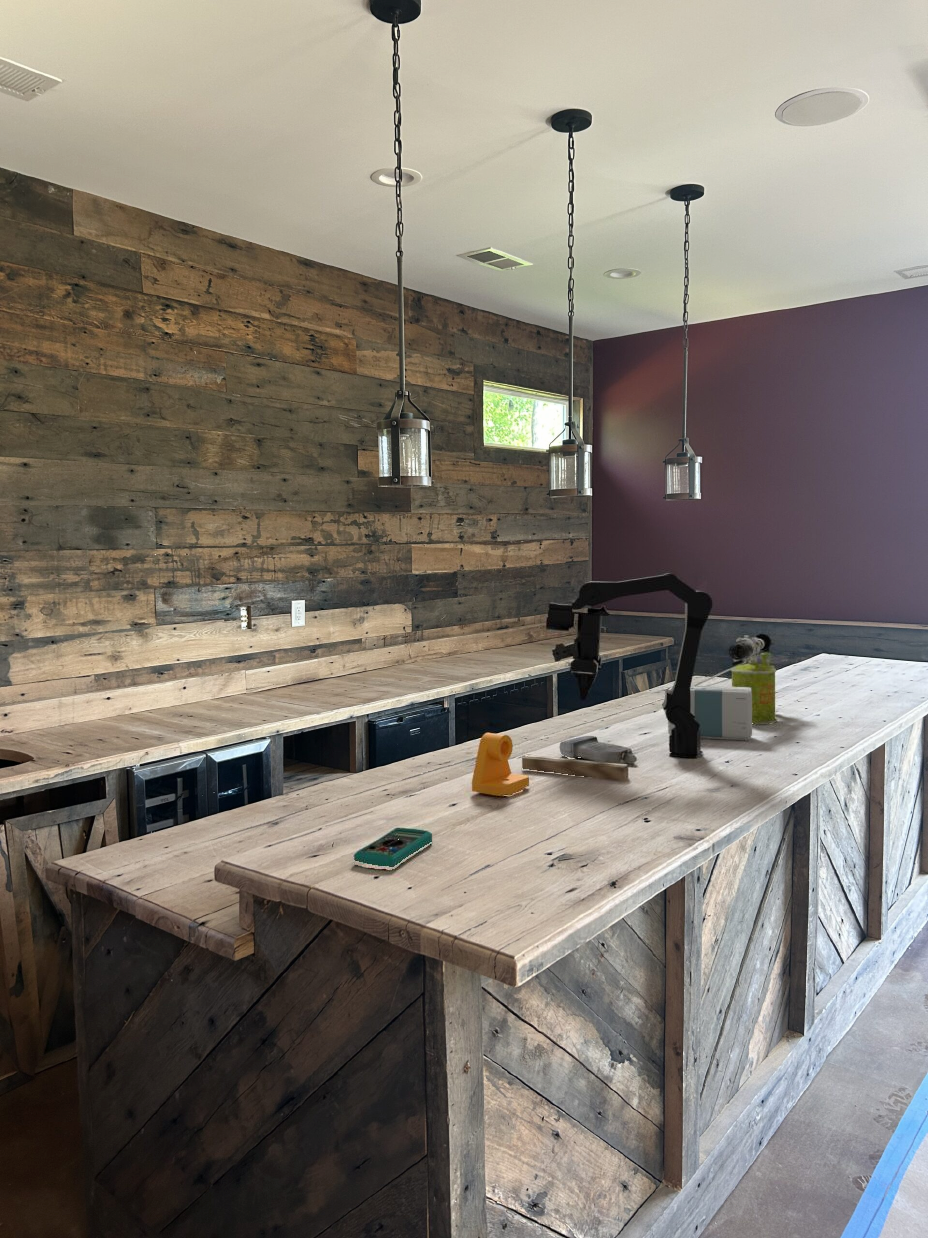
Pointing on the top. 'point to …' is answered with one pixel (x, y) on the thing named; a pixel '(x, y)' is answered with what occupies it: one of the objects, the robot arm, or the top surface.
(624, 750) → the handheld device
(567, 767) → the beam
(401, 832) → the digital multimeter
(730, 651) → the blowtorch
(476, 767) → the bracket
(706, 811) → the top surface
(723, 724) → the stereo radio cassette player
